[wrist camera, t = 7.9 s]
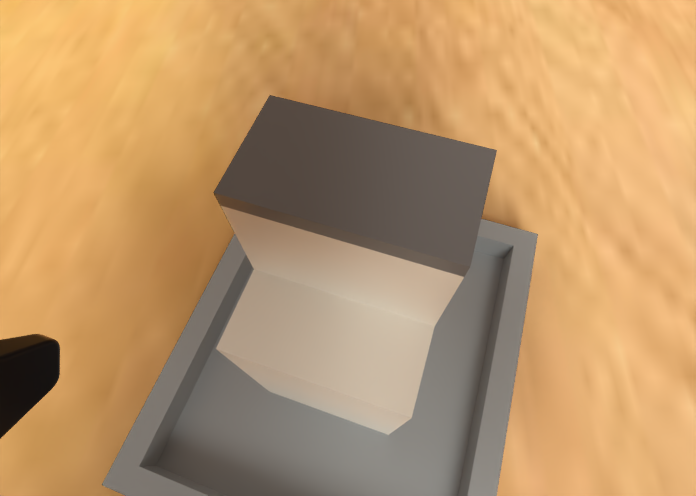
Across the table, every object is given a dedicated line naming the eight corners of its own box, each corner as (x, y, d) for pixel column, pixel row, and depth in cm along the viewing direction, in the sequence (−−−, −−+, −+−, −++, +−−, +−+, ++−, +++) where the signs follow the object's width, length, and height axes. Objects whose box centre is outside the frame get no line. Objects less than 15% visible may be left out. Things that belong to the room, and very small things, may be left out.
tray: (458, 624, 15) (472, 647, 13) (128, 482, 18) (101, 485, 16) (522, 253, 22) (537, 233, 20) (278, 184, 24) (272, 161, 22)
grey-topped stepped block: (388, 434, 18) (441, 396, 7) (269, 391, 19) (152, 298, 8) (423, 304, 20) (501, 130, 10) (317, 271, 21) (279, 78, 10)
